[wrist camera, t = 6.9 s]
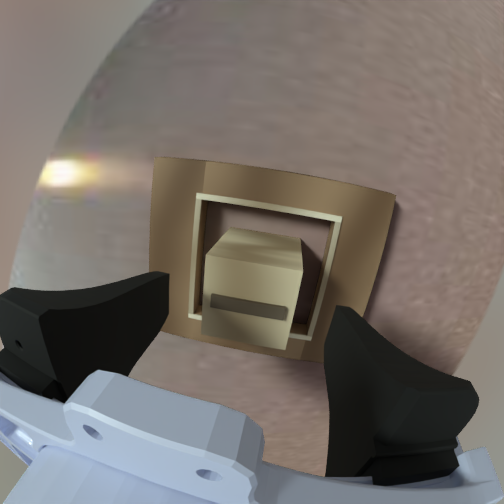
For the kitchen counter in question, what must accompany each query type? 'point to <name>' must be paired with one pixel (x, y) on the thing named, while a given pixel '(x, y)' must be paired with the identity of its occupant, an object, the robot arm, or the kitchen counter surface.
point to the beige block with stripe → (251, 287)
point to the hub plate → (272, 198)
